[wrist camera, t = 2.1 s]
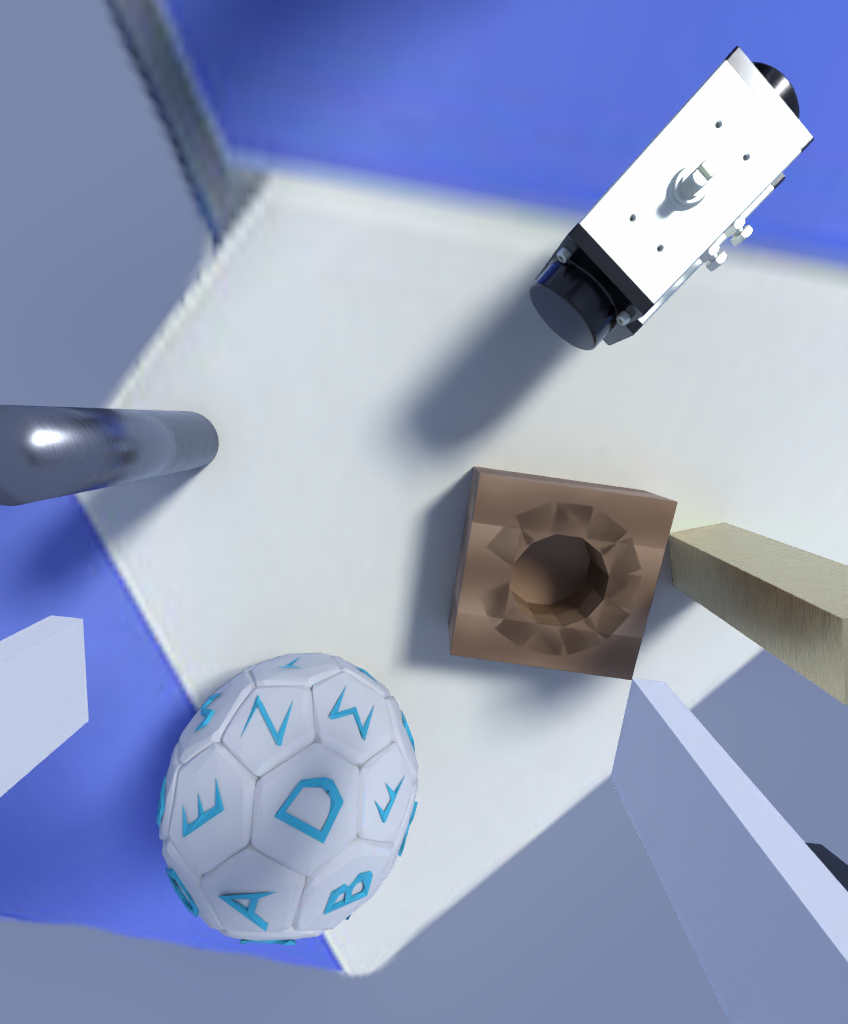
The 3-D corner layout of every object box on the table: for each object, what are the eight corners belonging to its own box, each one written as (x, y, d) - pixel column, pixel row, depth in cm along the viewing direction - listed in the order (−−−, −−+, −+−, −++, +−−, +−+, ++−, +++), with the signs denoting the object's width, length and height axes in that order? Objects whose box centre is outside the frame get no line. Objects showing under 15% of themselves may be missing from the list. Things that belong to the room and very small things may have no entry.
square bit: (667, 533, 32) (842, 618, 18) (725, 522, 32) (945, 600, 18) (673, 585, 33) (845, 704, 19) (729, 575, 32) (944, 688, 19)
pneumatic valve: (503, 319, 29) (549, 252, 18) (639, 169, 27) (791, -18, 16) (562, 379, 30) (643, 352, 18) (698, 236, 28) (887, 104, 16)
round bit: (162, 407, 31) (-53, 397, 17) (219, 415, 31) (49, 412, 17) (161, 464, 32) (-45, 498, 18) (217, 472, 32) (52, 512, 18)
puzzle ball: (254, 592, 34) (115, 725, 19) (446, 648, 34) (454, 820, 20) (215, 758, 37) (68, 984, 22) (391, 807, 37) (362, 1060, 23)
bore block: (474, 466, 31) (480, 473, 27) (643, 490, 31) (677, 502, 27) (448, 624, 34) (450, 654, 29) (605, 646, 34) (631, 680, 29)
